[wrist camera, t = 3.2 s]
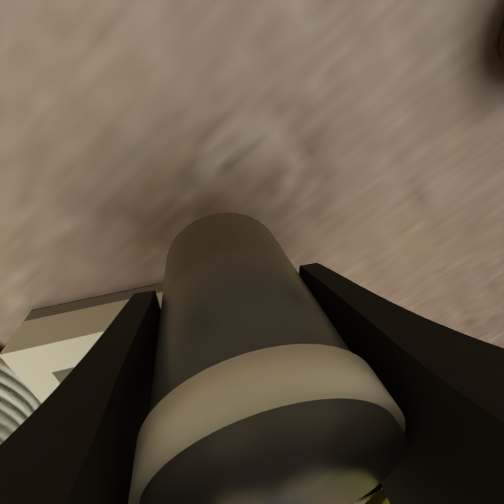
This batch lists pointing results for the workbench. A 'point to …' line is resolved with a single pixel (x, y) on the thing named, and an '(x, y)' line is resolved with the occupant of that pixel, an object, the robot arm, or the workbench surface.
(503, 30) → the olive spiky cup
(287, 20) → the workbench surface
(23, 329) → the hollow square frame
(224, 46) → the workbench surface
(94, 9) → the workbench surface
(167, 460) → the knob
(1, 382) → the cable
